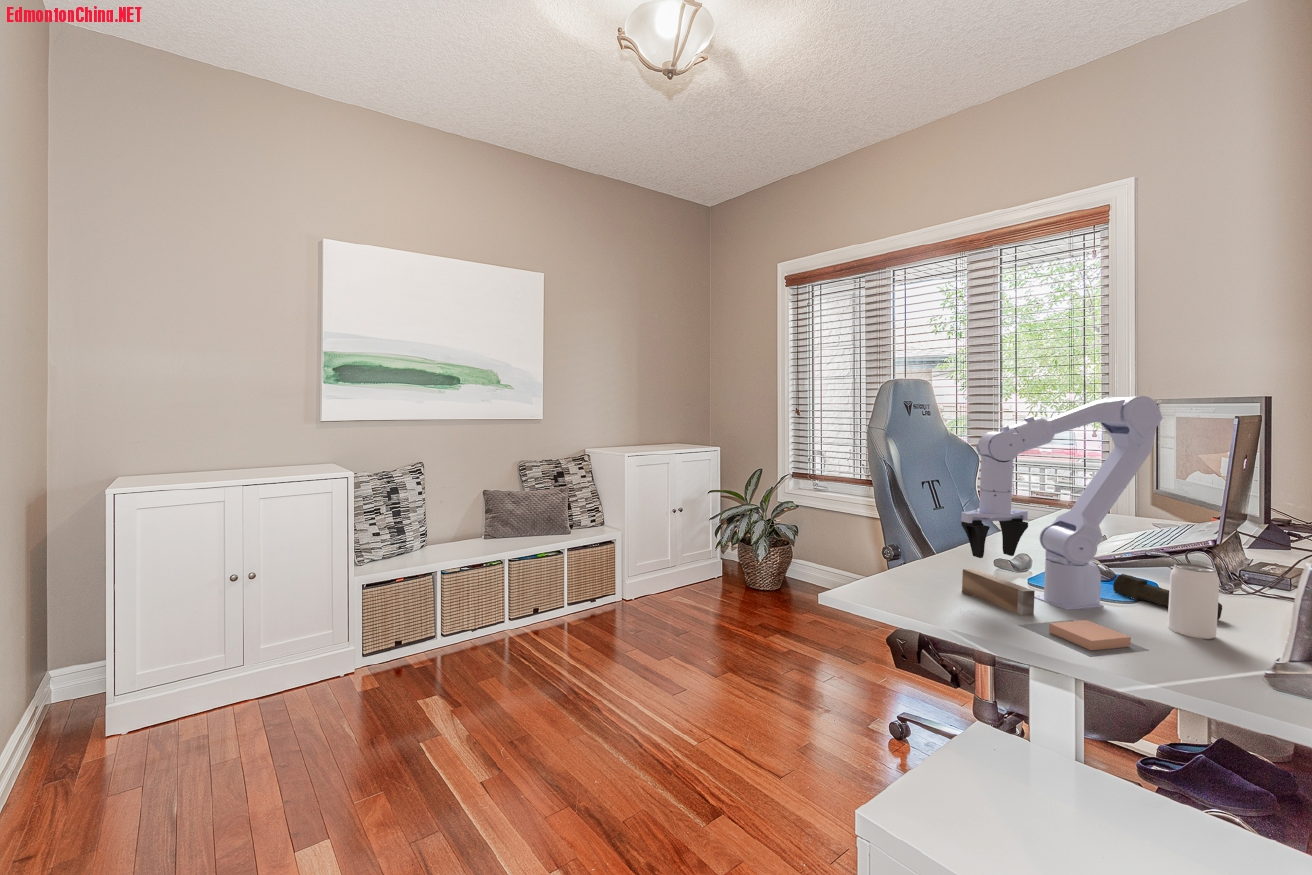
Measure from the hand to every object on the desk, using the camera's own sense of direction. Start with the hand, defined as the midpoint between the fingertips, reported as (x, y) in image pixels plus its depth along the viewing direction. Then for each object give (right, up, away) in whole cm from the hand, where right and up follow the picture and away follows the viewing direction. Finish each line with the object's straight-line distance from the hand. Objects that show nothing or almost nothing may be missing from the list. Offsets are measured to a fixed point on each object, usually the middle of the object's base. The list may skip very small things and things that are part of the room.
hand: (993, 555), depth 123 cm
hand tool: (+33, -10, -2) cm, 34 cm away
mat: (+4, -11, -20) cm, 23 cm away
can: (+26, -11, -17) cm, 33 cm away
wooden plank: (0, -10, -1) cm, 10 cm away
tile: (+4, -9, -17) cm, 20 cm away
